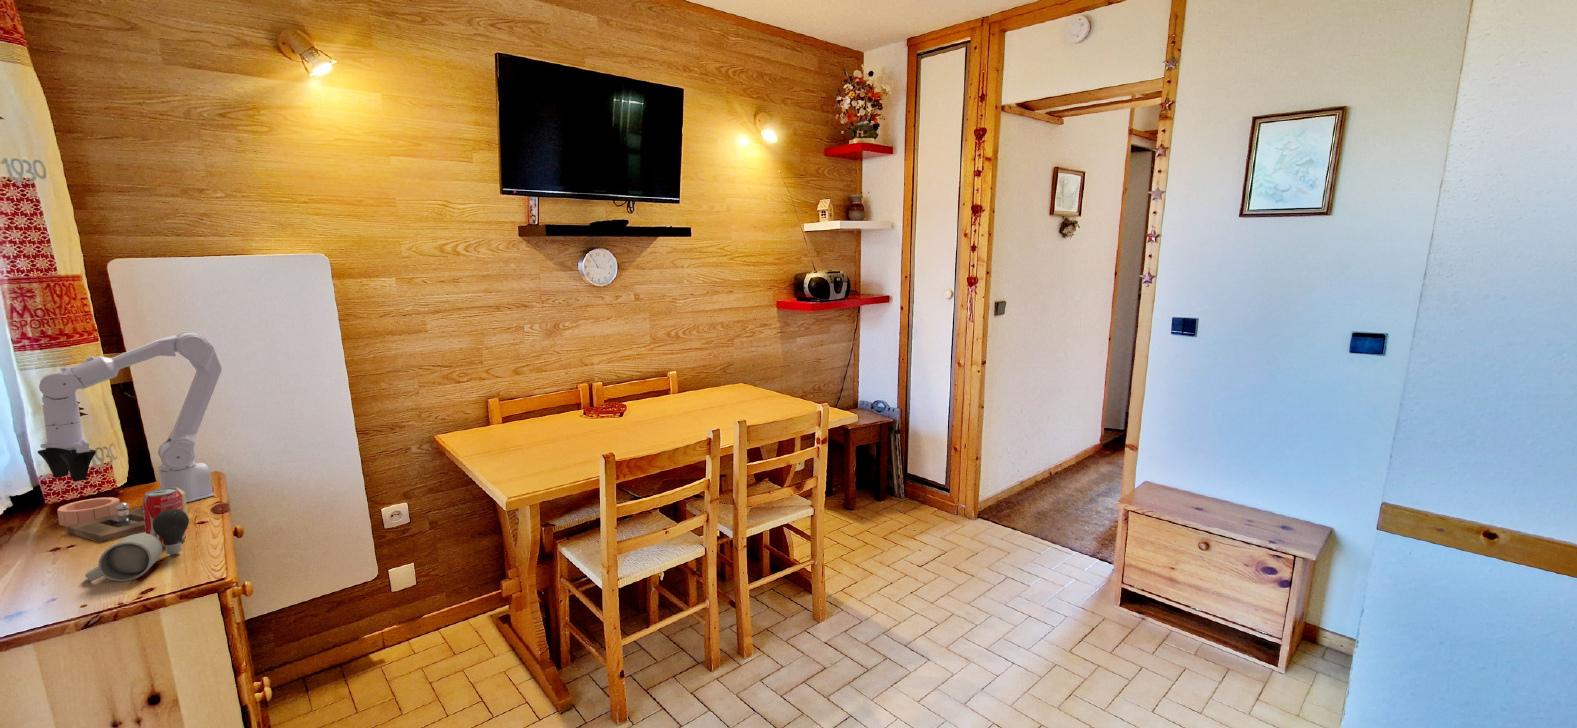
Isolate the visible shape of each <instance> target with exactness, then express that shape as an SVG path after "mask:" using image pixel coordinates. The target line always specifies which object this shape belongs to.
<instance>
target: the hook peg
mask: <svg viewBox="0 0 1577 728" xmlns="http://www.w3.org/2000/svg"><path fill="white" fill-rule="evenodd" d="M116 509H117V511H118V518H114V519H110V524H111V526H113V527H117V528H119V527H123V526H126V525H130V524H134V523H138V522H137V521H133V520H130V517H129V511H130V504H129V503H128V502H125V501H124V502H120V503H119V504H118V505H117V506H116Z"/></svg>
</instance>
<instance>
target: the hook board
mask: <svg viewBox="0 0 1577 728" xmlns="http://www.w3.org/2000/svg"><path fill="white" fill-rule="evenodd" d="M129 517H130V520H132V521H137V522H138V523H134V524H130V525H126V526H123V527H119V528H118V527H114V526H111V524H110V519H114V518H118V514H115V515H111V516H107V517H103V518H99V519H95V520H91V521H87V522H83V523H79V524H75V525H71V526H66V531H67V532H66V533H67V534H70V535H73V536H78V537H81V538H85V539H88V540H92V541H96V542H100V543H107V542H110V541H113V540H117V539H122V538H125V537H128V536H130V535H134V534H140V533H143V532H146V531H145V522H144V512H143V507H140V508H135V509H132V510H129Z"/></svg>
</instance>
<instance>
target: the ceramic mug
mask: <svg viewBox="0 0 1577 728" xmlns="http://www.w3.org/2000/svg"><path fill="white" fill-rule="evenodd" d="M162 552H163V548H162V544H161V542H160V540H159V539H158V538H156V537H155V536H153V535H150V534H146V533H143V532H139V533H136V534H132V535H128V536H125V537H123V538H121V539H120V540H119V541H118V542H116V543H115V544H113V545H111V546H109V547H108V548H107V549H106V550H104V552H103V553H102V554H101V555H100V557H99V560H98V566H96V567H94V568H93V569H91V570H90V571H88V572H86V573H85V575H84V577H85V578H86V580H88V581H89V582H92V581H95V580H98V579H100V578H103V577H104V578H106V579H108V580H110V581H114V582H128V580H129V581H133V580H136V579H138V578H140V577H141V576H143V575H144V574H146V573H148V571H149V570H150V568H151V567H153V565H154V564H156V562H158V560H159V559H160V557H161V556H162Z"/></svg>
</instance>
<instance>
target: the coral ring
mask: <svg viewBox="0 0 1577 728" xmlns="http://www.w3.org/2000/svg"><path fill="white" fill-rule="evenodd" d="M119 503H121V501H120V498H117V497H112V496H111V497H110V496H109V497H95V498H89V499H83V500H79V501H74V502H70V503H67V504H64V505H61V506H58V507H59V508H57V517H58V518H57V519H58V525H59V526H63V527H67V526H71V525H75V524H79V523H83V522H87V521H91V520H95V519H99V518H103V517H107V516H111V515H115V514H118V511H117V509H116V506H117V505H118V504H119Z"/></svg>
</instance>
